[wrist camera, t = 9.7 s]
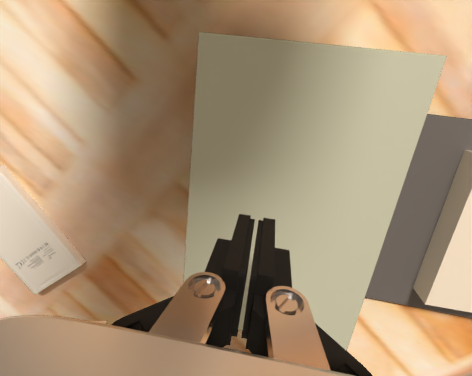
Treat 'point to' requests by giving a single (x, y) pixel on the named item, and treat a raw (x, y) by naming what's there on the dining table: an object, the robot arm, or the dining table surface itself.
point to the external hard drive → (32, 238)
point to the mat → (420, 211)
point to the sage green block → (305, 157)
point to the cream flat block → (451, 248)
